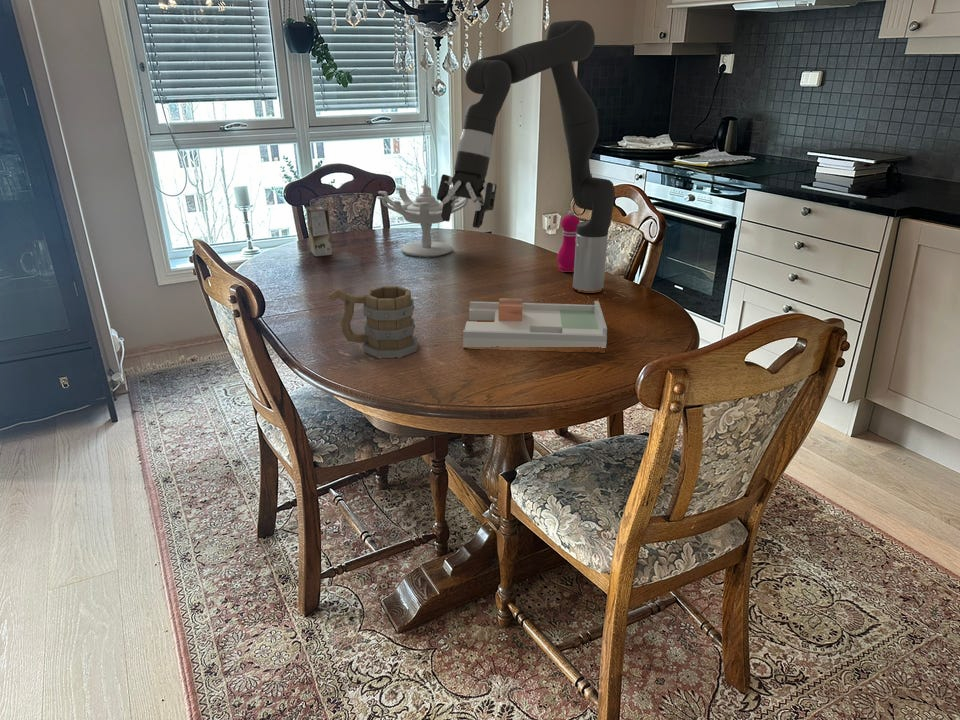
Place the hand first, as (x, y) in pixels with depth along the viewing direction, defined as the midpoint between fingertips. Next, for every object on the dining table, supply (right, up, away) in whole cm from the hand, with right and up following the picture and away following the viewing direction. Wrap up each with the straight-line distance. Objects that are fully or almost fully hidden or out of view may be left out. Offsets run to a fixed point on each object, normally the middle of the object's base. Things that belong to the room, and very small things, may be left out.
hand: (460, 224), depth 153 cm
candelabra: (-15, +8, +87) cm, 89 cm away
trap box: (+18, -25, +14) cm, 34 cm away
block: (+12, -20, +17) cm, 29 cm away
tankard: (-21, -29, +5) cm, 36 cm away
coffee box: (-53, +7, +85) cm, 100 cm away
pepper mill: (+34, -2, +66) cm, 74 cm away
